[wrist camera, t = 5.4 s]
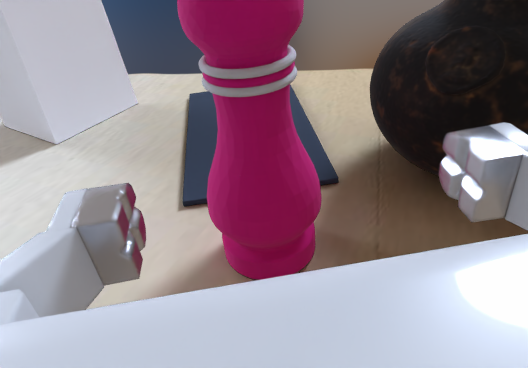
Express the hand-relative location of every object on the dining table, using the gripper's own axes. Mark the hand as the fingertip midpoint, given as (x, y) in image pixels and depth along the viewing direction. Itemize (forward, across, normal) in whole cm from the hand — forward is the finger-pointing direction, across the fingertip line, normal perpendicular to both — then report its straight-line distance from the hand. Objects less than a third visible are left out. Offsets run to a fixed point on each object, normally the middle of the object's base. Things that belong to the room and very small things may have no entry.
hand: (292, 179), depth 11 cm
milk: (+43, +22, +14) cm, 50 cm away
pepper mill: (+12, 0, +14) cm, 19 cm away
